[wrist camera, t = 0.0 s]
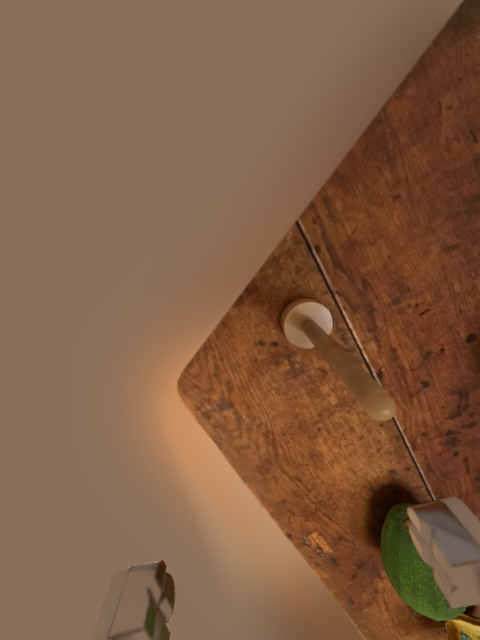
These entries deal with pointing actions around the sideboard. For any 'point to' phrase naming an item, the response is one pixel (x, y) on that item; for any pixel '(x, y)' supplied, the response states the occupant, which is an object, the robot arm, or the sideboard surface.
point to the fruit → (411, 568)
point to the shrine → (463, 628)
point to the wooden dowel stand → (334, 355)
